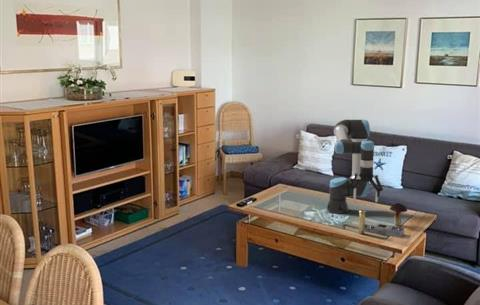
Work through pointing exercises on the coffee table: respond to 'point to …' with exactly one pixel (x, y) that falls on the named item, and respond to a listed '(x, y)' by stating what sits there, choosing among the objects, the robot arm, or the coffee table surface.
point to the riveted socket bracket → (385, 230)
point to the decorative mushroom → (398, 212)
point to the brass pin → (361, 221)
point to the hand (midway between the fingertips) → (365, 200)
